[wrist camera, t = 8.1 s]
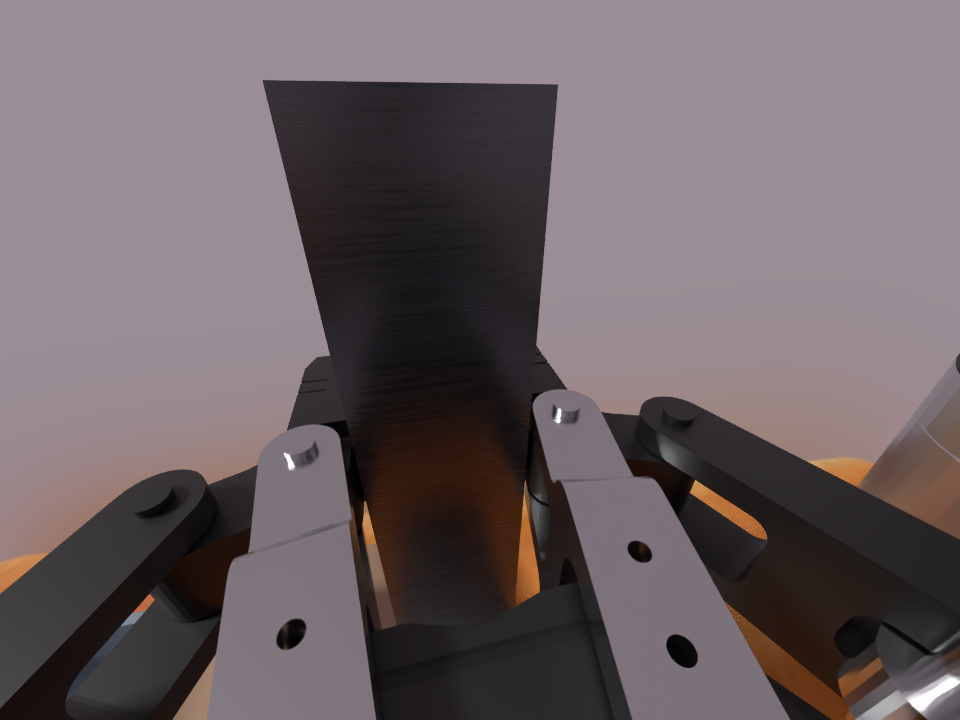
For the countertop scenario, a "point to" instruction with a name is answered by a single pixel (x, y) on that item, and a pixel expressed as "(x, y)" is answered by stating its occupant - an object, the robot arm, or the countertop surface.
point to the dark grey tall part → (428, 313)
